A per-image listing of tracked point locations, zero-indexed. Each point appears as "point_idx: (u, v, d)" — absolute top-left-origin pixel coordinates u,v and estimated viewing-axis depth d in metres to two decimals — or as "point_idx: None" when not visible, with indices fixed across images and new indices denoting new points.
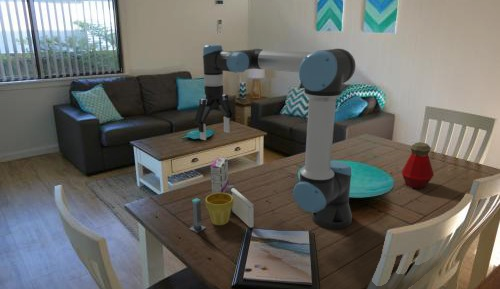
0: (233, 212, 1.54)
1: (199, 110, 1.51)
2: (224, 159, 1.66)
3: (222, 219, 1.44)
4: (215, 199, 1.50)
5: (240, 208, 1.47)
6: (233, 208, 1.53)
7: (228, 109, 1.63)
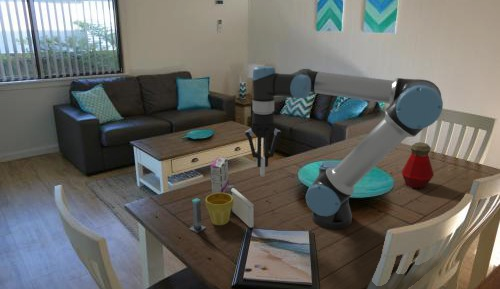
0: (233, 212, 1.54)
1: None
2: (224, 159, 1.66)
3: (222, 219, 1.44)
4: (215, 199, 1.50)
5: (240, 208, 1.47)
6: (233, 208, 1.53)
7: (271, 147, 1.38)
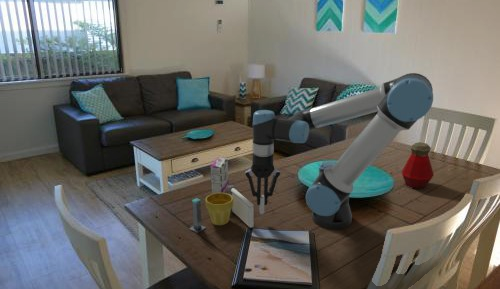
0: (233, 212, 1.54)
1: (249, 182, 1.42)
2: (224, 159, 1.66)
3: (222, 219, 1.44)
4: (215, 199, 1.50)
5: (240, 208, 1.47)
6: (233, 208, 1.53)
7: (270, 187, 1.43)
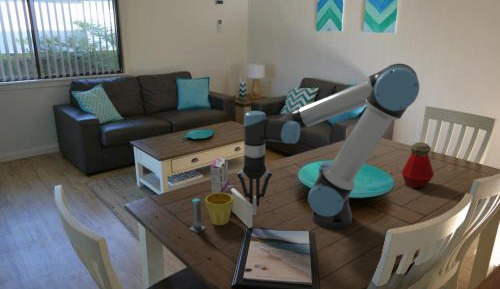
0: (233, 212, 1.54)
1: None
2: (224, 159, 1.66)
3: (222, 219, 1.44)
4: (215, 199, 1.50)
5: (239, 208, 1.47)
6: (233, 208, 1.53)
7: (262, 188, 1.42)
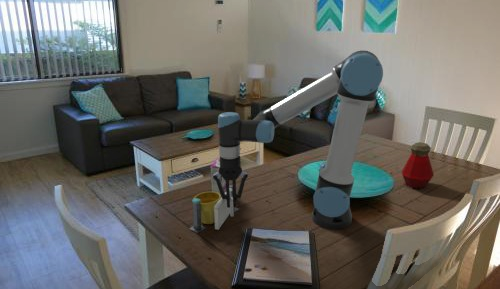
0: None
1: (218, 185, 1.41)
2: None
3: (211, 217, 1.44)
4: (204, 198, 1.50)
5: None
6: None
7: (239, 189, 1.42)
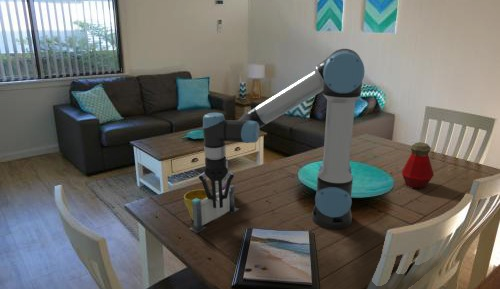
0: (233, 212, 1.54)
1: None
2: None
3: None
4: (194, 196, 1.52)
5: None
6: None
7: (225, 189, 1.42)
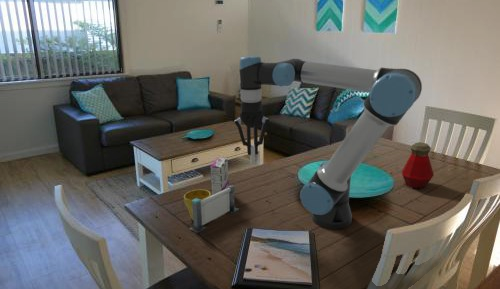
0: (233, 212, 1.54)
1: (239, 132, 1.41)
2: (224, 159, 1.66)
3: None
4: (194, 196, 1.52)
5: None
6: None
7: (260, 135, 1.42)
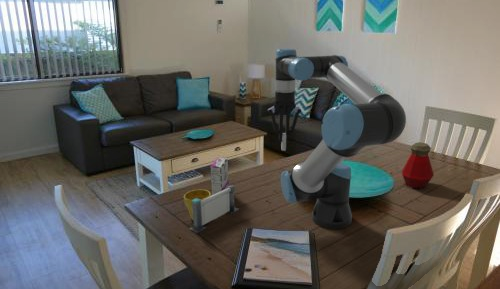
0: (233, 212, 1.54)
1: (272, 120, 1.50)
2: (224, 159, 1.66)
3: None
4: (194, 196, 1.52)
5: None
6: None
7: (292, 124, 1.51)
